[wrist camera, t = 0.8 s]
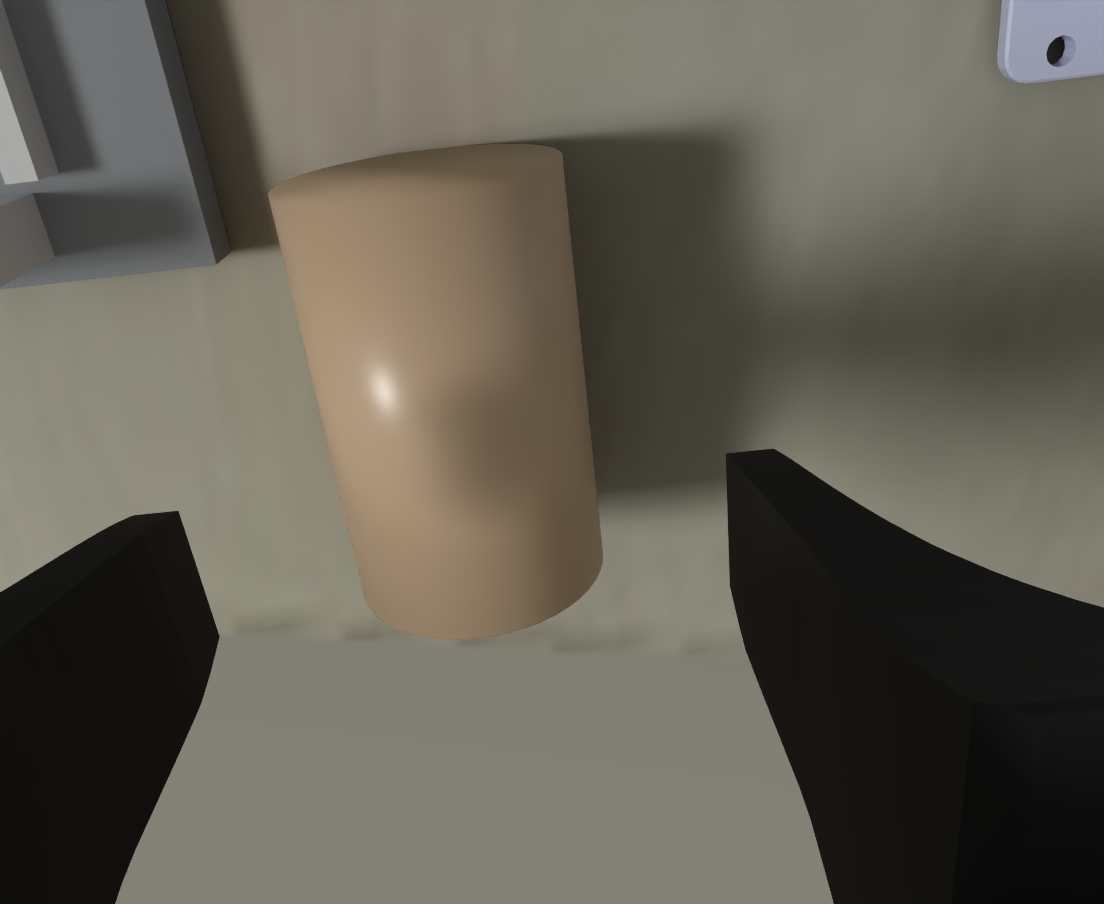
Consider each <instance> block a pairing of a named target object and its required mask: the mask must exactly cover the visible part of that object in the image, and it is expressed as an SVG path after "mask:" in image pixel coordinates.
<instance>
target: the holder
mask: <svg viewBox="0 0 1104 904" xmlns="http://www.w3.org/2000/svg"><path fill="white" fill-rule="evenodd" d="M230 252H231V249H230V245H229V241H228V237H227V233H226V230H225V226H224V222H223V218H222V214H221V211H220V207H219V203H218V199H217V195H216V192H215V188H214V184H213V180H212V176H211V173H210V169H209V165H208V161H207V157H206V154H205V150H204V146H203V142H202V138H201V135H200V131H199V127H198V123H197V119H196V116H195V112H194V108H193V104H192V100H191V97H190V93H189V89H188V85H187V81H186V78H185V74H184V70H183V66H182V62H181V59H180V55H179V51H178V47H177V43H176V40H175V36H174V32H173V28H172V24H171V21H170V17H169V13H168V9H167V5H166V2H165V0H0V289H8V288H16V287H25V286H34V285H43V284H51V283H60V282H69V281H77V280H86V279H95V278H104V277H112V276H121V275H130V274H139V273H147V272H156V271H165V270H173V269H182V268H191V267H200V266H208V265H216V264H218V263H219V262H220V261H221V260H222V259H223V258H224V257H226V256H227V255H228V254H229V253H230Z"/></svg>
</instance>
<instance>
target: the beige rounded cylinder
mask: <svg viewBox="0 0 1104 904" xmlns="http://www.w3.org/2000/svg"><path fill="white" fill-rule="evenodd" d="M268 197H269V201H270V205H271V210H272V214H273V218H274V222H275V226H276V231H277V235H278V239H279V243H280V247H281V251H282V256H283V260H284V264H285V268H286V272H287V276H288V281H289V285H290V289H291V293H292V297H293V302H294V306H295V310H296V314H297V318H298V322H299V327H300V331H301V335H302V339H303V343H304V347H305V352H306V356H307V360H308V364H309V368H310V373H311V377H312V381H313V385H314V389H315V393H316V398H317V402H318V406H319V410H320V414H321V418H322V423H323V427H324V431H325V435H326V439H327V444H328V448H329V452H330V456H331V460H332V464H333V469H334V473H335V477H336V481H337V485H338V489H339V494H340V498H341V502H342V506H343V510H344V514H345V519H346V523H347V527H348V531H349V535H350V540H351V544H352V548H353V552H354V556H355V560H356V565H357V569H358V573H359V577H360V581H361V585H362V590H363V594H364V597H365V601H366V603H367V605H368V606H369V608H370V610H371V611H372V612H373V613H374V614H375V615H376V616H377V617H378V618H379V619H381V620H382V621H383V622H385V623H386V624H388V625H390V626H392V627H394V628H395V629H398V630H401V631H403V632H406V633H409V634H413V635H417V636H421V637H427V638H434V639H448V640H463V639H478V638H486V637H493V636H497V635H502V634H507V633H511V632H514V631H518V630H521V629H525V628H527V627H530V626H533V625H535V624H538V623H540V622H543V621H545V620H547V619H549V618H551V617H553V616H555V615H557V614H558V613H560V612H562V611H563V610H565V609H566V608H568V607H569V606H571V605H572V604H573V603H575V602H576V601H577V600H578V599H580V598H581V597H582V596H583V595H584V594H585V593H586V592H587V591H588V590H589V588H590V587H591V586H592V584H593V583H594V582H595V580H596V578H597V576H598V574H599V572H600V570H601V566H602V562H603V550H602V540H601V530H600V520H599V510H598V500H597V491H596V481H595V471H594V461H593V451H592V442H591V432H590V422H589V412H588V402H587V392H586V383H585V373H584V363H583V353H582V343H581V333H580V324H579V314H578V304H577V294H576V284H575V274H574V265H573V255H572V245H571V235H570V225H569V215H568V206H567V196H566V186H565V176H564V166H563V156H562V153H561V152H560V151H559V150H557V149H555V148H552V147H547V146H542V145H532V144H481V145H465V146H456V147H447V148H439V149H431V150H422V151H414V152H405V153H397V154H391V155H385V156H379V157H374V158H368V159H363V160H358V161H353V162H349V163H344V164H340V165H335V166H331V167H327V168H323V169H320V170H316V171H313V172H309V173H306V174H303V175H300V176H297V177H294V178H292V179H289V180H287V181H285V182H282V183H280V184H278V185H277V186H275V187H273V188H272V189H271V190H270V191H269V193H268Z"/></svg>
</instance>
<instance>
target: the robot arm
mask: <svg viewBox="0 0 1104 904" xmlns="http://www.w3.org/2000/svg"><path fill="white" fill-rule="evenodd" d="M1060 36H1061V38H1062V39H1063V40H1064V43H1065V50H1064V53H1063V56H1062V57H1061V58H1060V59H1059V60H1058V61H1057V62H1056V63H1054V64H1052V65H1051V64H1050V63H1049V62H1048V61H1047V55H1046V52H1047V50H1048V47H1049V44H1050V43H1051V42H1052V41H1053V40H1054V39H1055V38H1057V37H1060ZM997 61H998V68H999V70H1000V72H1001V73H1002V75H1003V76H1004V77H1005V78H1007V79H1009V80H1010V81H1013V82H1018V83H1028V84H1030V83H1039V82H1047V81H1056V80H1064V79H1073V78H1081V77H1090V76H1098V75H1104V0H1002V8H1001V19H1000V30H999V41H998V52H997ZM726 472H727V504H728V537H729V570H730V588H731V592H732V597H733V601H734V605H735V609H736V614H737V618H738V622H739V626H740V630H741V634H742V638H743V642H744V646H745V649H746V652H747V655H748V657H749V660H750V663H751V665H752V667H753V670H754V673H755V675H756V678H757V681H758V683H759V686H760V688H761V691H762V694H763V696H764V699H765V701H766V704H767V706H768V708H769V711H770V714H771V716H772V719H773V721H774V724H775V726H776V729H777V731H778V734H779V736H780V738H781V742H782V744H783V746H784V749H785V752H786V754H787V757H788V759H789V762H790V764H791V767H792V769H793V772H794V774H795V777H796V779H797V782H798V784H799V787H800V790H801V793H802V795H803V798H804V801H805V804H806V807H807V810H808V813H809V816H810V819H811V822H812V826H813V829H814V833H815V837H816V840H817V844H818V847H819V851H820V855H821V858H822V862H823V866H824V869H825V872H826V876H827V880H828V884H829V887H830V891H831V895H832V899H833V902H834V904H1104V608H1103V607H1099V606H1096V605H1092V604H1089V603H1085V602H1081V601H1078V600H1075V599H1072V598H1069V597H1066V596H1063V595H1060V594H1056V593H1053V592H1050V591H1047V590H1044V589H1041V588H1038V587H1035V586H1032V585H1029V584H1026V583H1023V582H1020V581H1018V580H1015V579H1012V578H1009V577H1007V576H1004V575H1001V574H999V573H996V572H994V571H991V570H989V569H987V568H984V567H982V566H979V565H977V564H975V563H972V562H970V561H968V560H965V559H963V558H961V557H958V556H956V555H954V554H951V553H949V552H947V551H945V550H943V549H941V548H938V547H936V546H934V545H932V544H930V543H928V542H926V541H924V540H922V539H920V538H918V537H917V536H915V535H913V534H911V533H909V532H907V531H905V530H904V529H902V528H900V527H898V526H896V525H894V524H892V523H890V522H889V521H887V520H885V519H883V518H882V517H880V516H878V515H877V514H875V513H873V512H871V511H870V510H868V509H866V508H865V507H863V506H861V505H860V504H858V503H857V502H855V501H853V500H852V499H850V498H849V497H847V496H845V495H844V494H842V493H841V492H839V491H838V490H836V489H835V488H833V487H832V486H830V485H828V484H827V483H825V482H824V481H822V480H821V479H819V478H818V477H816V476H815V475H814V474H812V473H811V472H809V471H808V470H806V469H805V468H803V467H802V466H800V465H799V464H797V463H796V462H794V461H793V460H791V459H790V458H788V457H787V456H785V455H783V454H782V453H780V452H778V451H777V450H775V449H766V450H756V451H747V452H737V453H728V454H726ZM218 641H219V634H218V631H217V628H216V625H215V621H214V618H213V615H212V612H211V609H210V606H209V603H208V600H207V597H206V594H205V591H204V588H203V585H202V582H201V579H200V576H199V573H198V570H197V567H196V563H195V560H194V557H193V554H192V551H191V548H190V545H189V542H188V539H187V536H186V533H185V530H184V527H183V524H182V521H181V518H180V515H179V512H178V511H172V512H163V513H153V514H143V515H134V516H131V517H129V518H126V519H124V520H122V521H120V522H118V523H116V524H114V525H112V526H110V527H108V528H106V529H104V530H102V531H101V532H99V533H97V534H95V535H94V536H92V537H90V538H88V539H87V540H85V541H83V542H82V543H80V544H78V545H77V546H75V547H73V548H72V549H70V550H68V551H67V552H65V553H64V554H62V555H60V556H59V557H57V558H55V559H54V560H52V561H51V562H49V563H47V564H46V565H44V566H43V567H41V568H39V569H38V570H36V571H34V572H33V573H31V574H30V575H28V576H26V577H25V578H23V579H21V580H20V581H18V582H17V583H15V584H13V585H12V586H10V587H8V588H7V589H5V590H4V591H2V592H0V904H115V902H116V899H117V896H118V893H119V890H120V887H121V884H122V881H123V879H124V877H125V874H126V872H127V869H128V867H129V864H130V862H131V859H132V857H133V854H134V852H135V849H136V847H137V845H138V843H139V840H140V838H141V836H142V834H143V832H144V830H145V827H146V825H147V823H148V821H149V818H150V816H151V814H152V812H153V810H154V808H155V805H156V803H157V801H158V799H159V797H160V794H161V792H162V790H163V788H164V786H165V784H166V781H167V779H168V777H169V775H170V773H171V770H172V768H173V766H174V764H175V762H176V759H177V757H178V755H179V753H180V751H181V748H182V746H183V744H184V742H185V739H186V737H187V734H188V733H189V730H190V728H191V726H192V723H193V721H194V719H195V717H196V714H197V712H198V709H199V707H200V705H201V702H202V699H203V696H204V692H205V689H206V686H207V682H208V679H209V676H210V672H211V668H212V664H213V660H214V657H215V653H216V648H217V645H218Z"/></svg>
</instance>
